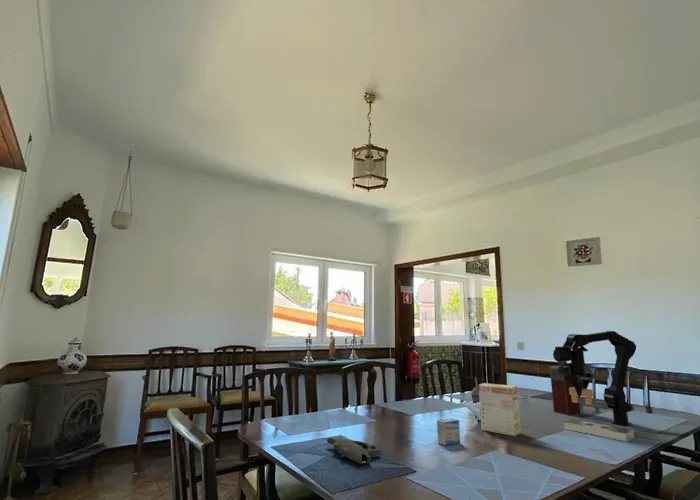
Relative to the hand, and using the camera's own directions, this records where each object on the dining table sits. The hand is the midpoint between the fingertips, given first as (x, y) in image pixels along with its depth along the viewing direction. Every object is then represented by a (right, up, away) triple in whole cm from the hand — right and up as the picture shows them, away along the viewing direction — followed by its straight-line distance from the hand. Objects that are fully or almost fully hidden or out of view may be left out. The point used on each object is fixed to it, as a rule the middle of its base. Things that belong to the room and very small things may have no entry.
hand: (581, 395), depth 183 cm
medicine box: (-70, -8, -29) cm, 76 cm away
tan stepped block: (0, -3, -1) cm, 4 cm away
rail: (-3, -10, -16) cm, 20 cm away
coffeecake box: (-43, -11, -13) cm, 46 cm away
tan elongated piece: (-107, -7, -41) cm, 115 cm away
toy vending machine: (+7, -18, +22) cm, 29 cm away
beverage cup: (-45, -15, +8) cm, 48 cm away
